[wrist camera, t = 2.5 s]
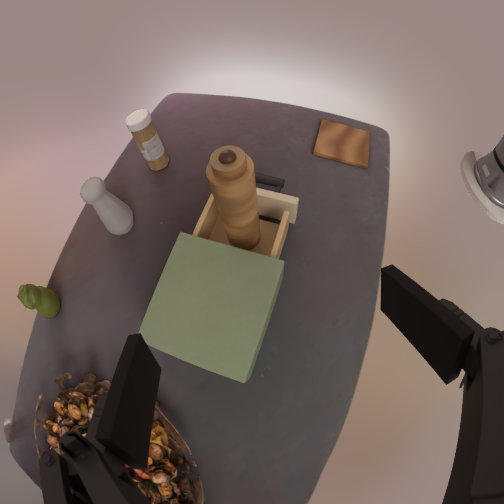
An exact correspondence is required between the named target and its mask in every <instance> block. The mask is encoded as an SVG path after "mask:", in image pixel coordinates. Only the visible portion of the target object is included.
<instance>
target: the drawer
mask: <svg viewBox="0 0 504 504" xmlns="http://www.w3.org/2000/svg"><path fill="white" fill-rule="evenodd" d="M255 180H256V182H257V183H262V184H266V185H271V186H275V187H277V188H276V191H275V192H273V191H268V190H264V189H260V188H256V191H257V201H258V211H259V215H262V216H266V217H270V218H274V219H277V220H281V223H280V224H276V223H272V222H268V221H264V220H260V219H259V221H260V232H261V238H260V241H259V243H258V245H257V246H256V247H255V248H253V249H251V250H249V251H251V252H255V253H258V254H262V255H266V256H269V257H273V258H276V259H279V257H280V254H281V251H282V248H283V245H284V241H285V238H286V235H287V231H288V226H289V223H293V224H295V221H296V216H297V209H298V202H299V198H297V197H293V196H289V195H285V194H281V193H280V190H281V188H283V186H284V181H285V180H283V179H279V178H274V177H270V176H265V175H261V174H256V173H255ZM192 235H193V236H197V237H201V238H204V239H208V240H211V241H215V242H219V243H222V244H226V245H230V243H229V241H228V238H227V235H226V232H225V229H224V226H223V223H222V220H221V217H220V214H219V212H218V209H217V206H216V203H215V200H214V197H213V194H212V193H211V195H210V197H209V199H208V201H207V203H206V206H205V208H204V210H203V212H202V214H201V216H200V219H199V221H198V223H197V225H196V227H195V230H194V232H193V234H192ZM230 246H231V245H230Z"/></svg>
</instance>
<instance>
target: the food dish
mask: <svg viewBox="0 0 504 504" xmlns="http://www.w3.org/2000/svg"><path fill="white" fill-rule="evenodd" d="M71 376H72V375H71V374H69V373H66V374H62V375H60V376H58V377H57V378H55V383H56V384H59V385H60V386H61V387H62V388H63V390H62V392H61V393H60V394H59V396H58V397H59V398H58V399H59V400H60V401H61V402H55V404H54V407H55V408H56V410H57V412H55V413H53V414H49V415H48V416H47V418H46V420H45V421H43V422H41V421H39V420H38V419H37V411H38V410H39V409H40V405H41V403H42V400H43V394H41V395H40V396H39V399H38V402H37V405H36V418H35V419H34V435H35V440H36V427H37V426H38V425H40V424H44V429H45V430H47V435H46V439H47V441H46V443H47V442H48V444H50V445H52V446H51V448H50V449H53V450H55V451H57V452H58V453H59V454H60V455H61V454H64V453H63V452H62V451H61V450H60V449H59V445H58V444H59V440H60V438H61V436H62V435H63V434H64V433H65V432H67V431H70V430H76V431H78V432H79V433H81V434H82V435H83V436H84V437H86V434H87V431H88V427H89V424H90V421H91V418H92V417H93V416H92V415H93V411H94V410H95V409H94V408H95V405H96V402H97V400H98V398H99V397H100V396H101V394H102V393H103V392H108V391H109V388H110V385H111V384H110V382H109V381H107V380H104V381H102V382H95V380H96V378H97V376H95V375H93V374H90V373H88V374H87V373H86V374H85V378H84V379H83V382H84V383H80V384H79V386H77V387H75V388H70V389H68V388H65V387H64V386H63V384H62V381H63V380H64V381H66V380H67V379H70V378H71ZM85 382H86V383H85ZM159 419H160V420H161V421H160V420H159ZM168 433H169V434H171V435H172V436H174V437H175V438H176V440H175V441H174V440H173V439H172V437H171V436H170V435H169V434H168ZM36 446H37V451H38V454H39V458H40V457H41V454H42V453H43V451H41V450H40V449H39V447H38V445H36ZM180 448H182V449H184V450H185V451H186V452H187V453H190V454H191V452H190V449H189V447H188V446H187V445H186V444H185V441H184V440H183V438H182V437H181V436H180V434H179V433H178V431H177V430H176V429H175V427H174V426H173V424H171V423H170V422H169V420H168V419H167V418H166V417H165V415H164V414H163V411H162V410H161V409H160V408H159V405H158V402H157V401H156V404H155V411H154V418H153V425H152V432H151V440H150V448H149V457H148V467H147V470H143V469H132V468H130V467H129V466H128V465H126V464H125V468H124V470H125V471H126V472H128V474H129V475H130V476H131V478H132V479H133V481H134V482H135V483H136V485H137V486H138V487H139V489H140V490H141V491H142V492H143V494H144V495H145V496H146V497H147V499H148V500H149V501H150V502H151V503H152V504H203V502H204V499H205V497H204V493H203V487H202V482H201V478H200V476H199V475H198V476H199V479H198V480H196V481H194V482H193V485H194V486H195V488H194V487H192V484H191V482H190V480H189V478H188V473H189V472H190V465H189V463H188V462H187V461H186V460H185V456H184V454H183V453H182V452H181V450H180ZM191 455H192V454H191ZM191 463H192V465H193V466H194V467H196V464H195V462H194V460H193V459H191ZM193 494H194V495H193ZM194 496H195V497H196V499H197V501H198V502H197V501H196V500H195V498H194Z"/></svg>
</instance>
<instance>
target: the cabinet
mask: <svg viewBox="0 0 504 504" xmlns="http://www.w3.org/2000/svg"><path fill="white" fill-rule="evenodd" d="M284 262H285V261H284V260H280V259H276V258H273V257H269V256H266V255H262V254H258V253H255V252H251V251H248V250H244V249H240V248H237V247H233V246H230V245H226V244H222V243H219V242H215V241H211V240H208V239H204V238H201V237H197V236H193V235H190V234H186V233H183V232H180V234H179V236H178V238H177V240H176V243H175V245H174V247H173V249H172V252H171V254H170V256H169V258H168V261H167V263H166V265H165V268H164V270H163V272H162V275H161V277H160V279H159V282H158V284H157V287H156V289H155V292H154V294H153V297H152V299H151V302H150V304H149V307H148V309H147V312H146V314H145V317H144V320H143V322H142V325H141V328H140V330H139V333H141V335H142V337H143V339H144V340H145V342H146V344H147V345H150V346H152V347H154V348H156V349H158V350H160V351H163V352H165V353H167V354H169V355H172V356H174V357H176V358H179V359H181V360H183V361H186V362H188V363H191V364H193V365H196V366H198V367H201V368H203V369H206V370H209V371H211V372H214V373H217V374H219V375H222V376H225V377H228V378H231V379H234V380H236V381H239V382H242V383H245V382H246V381H248V380H249V379H250V377H251V374H252V371H253V369H254V366H255V363H256V360H257V357H258V354H259V351H260V348H261V345H262V342H263V339H264V336H265V333H266V330H267V327H268V324H269V321H270V317H271V314H272V311H273V308H274V305H275V302H276V299H277V295H278V292H279V289H280V286H281V282H282V279H283V270H284ZM139 333H138V334H139Z"/></svg>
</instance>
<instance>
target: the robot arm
mask: <svg viewBox="0 0 504 504" xmlns="http://www.w3.org/2000/svg"><path fill="white" fill-rule="evenodd" d="M474 175H475V178H476V180H477V183H478V184H479V186H480V188H481V190H482V191H483V192H484V194H485V195H486V196H487V197H488V198H489V200H491V201H492V202H493V203H494V204H495V205H497V206H498V207H501V208H504V136H503V137H502V139H501V140H500V141H499V143H498V144H497V146H496V147H495V148H494V150H493V151H492V152H490V153H489V154H487V155H486V156H484V157H482V158H480V159H478V161H477V162H476V163H475V165H474ZM381 311H382V312H383V313H384V314H385V315H386V316H387V317H388V318H389V319H390V320H391V321H392V323H393V324H394V325H395V326H396V327H397V328H398V329H399V330H400V331H401V333H402V334H403V335H404V336H405V337H406V338H407V339H408V340H409V342H410V343H411V344H412V345H413V346H414V347H415V348H416V350H417V351H418V352H419V353H420V354H421V355H422V356H423V358H424V359H425V360H426V361H427V362H428V363H429V365H430V366H431V367H432V368H433V369H434V371H435V372H436V373H437V374H438V375H439V377H440V378H441V379H442V380H443V381H444V383H445V384H446V385H447V384H449V383H450V382H452V381H453V380H455V379H456V378H457V377H458V376H459V374H460V371H461V369H463V370H464V371H465V372H466V373H465V375H464V377H463V379H462V382H461V384H460V388H462V385H463V383H464V391H463V404H462V414H461V423H460V430H459V437H458V443H457V448H456V453H455V458H454V463H453V467H452V471H451V475H450V479H449V483H448V486H447V490H446V493H445V496H444V499H443V502H442V504H504V331H500V330H498V329H496V328H491V327H490V328H486V329H484V328H483V327H482V326H480V325H479V324H478V323H477V322H475V321H474V320H473V319H472V318H471V317H470V316H469V315H467V314H466V313H464V311H462V310H461V309H459V307H457V306H456V305H455V304H454V303H453V302H450V301H448V300H446V299H441V300H437V299H436V298H435V297H434V296H432V295H431V294H430V293H429V292H427V291H426V290H425V289H424V288H422V287H421V286H420V285H418V284H417V283H416V282H415V281H413V280H412V279H411V278H409V277H408V276H407V275H406V274H404V273H403V272H402V271H400V270H399V269H397V268H396V267H395V266H394V265H389V266H387V267H384V268H381ZM160 374H161V368H160V366H159V365H158V363H157V361H156V360H155V358H154V356H153V354H152V353H151V351H150V349H149V347H148V346H147V344H146V342H145V340H144V339H143V337H142V335H141V333H139V334H134V335H128V338H127V341H126V343H125V346H124V349H123V351H122V354H121V357H120V359H119V362H118V365H117V368H116V371H115V374H114V376H113V379H112V382H111V385H110V388H109V391H108V392H103V393H102V394H101V396H100V397H99V398H98V400H97V402H96V405H95V408H94V409H95V410H94V411H93V415H92V416H93V417H92V418H91V421H90V424H89V427H88V431H87V434H86V437H84V436H83V435H82V434H81V433H79V432H78V431H76V430H70V431H67V432H65V433H64V434H63V435H62V436H61V438H60V440H59V444H58V445H59V449H60V450H61V451H62V452H63V453H64V454H61V455H60V454H59V453H58V452H57V451H55V450H53V449H48V450H46V451H44V452H43V453H42V454H41V457H40V461H39V465H40V477H41V485H42V493H43V499H44V504H152V503H151V502H150V501H149V500H148V499H147V497H146V496H145V495H144V494H143V492H142V491H141V490H140V489H139V487H138V486H137V485H136V483H135V482H134V481H133V479H132V478H131V476H130V475H129V474H128V472H126V471H125V470H124V468H125V464H126V465H128V466H129V467H130V468H132V469H143V470H147V467H148V457H149V448H150V440H151V432H152V425H153V418H154V411H155V404H156V398H157V392H158V386H159V380H160Z"/></svg>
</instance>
